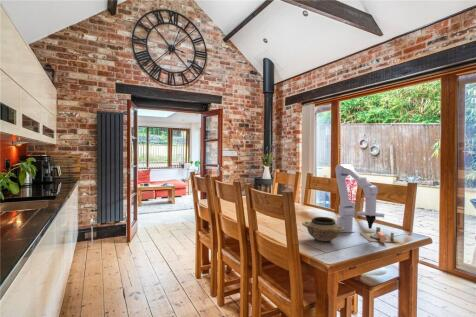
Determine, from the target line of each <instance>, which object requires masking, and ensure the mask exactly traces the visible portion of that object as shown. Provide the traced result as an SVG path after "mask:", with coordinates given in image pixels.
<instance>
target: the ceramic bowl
mask: <svg viewBox="0 0 476 317" xmlns="http://www.w3.org/2000/svg"><path fill="white" fill-rule="evenodd" d="M301 225H302V226H303V227H305V228H306V229H307V232H308V234H309V236H311V238H313V240H314V242H316V243H319V244H322V245H323V244H325V245H326V244H327V245H328V244H331V242H332V240H335V239H336V238H337V237H338V236H339V234H340V231H344V230H345V228H344V227H341V226H338V225H337V222H336V219H334V218H331V217H327V216H314V217H312V218H311V221H303V222H302V223H301Z"/></svg>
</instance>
